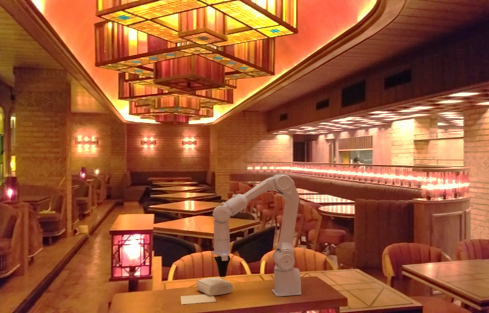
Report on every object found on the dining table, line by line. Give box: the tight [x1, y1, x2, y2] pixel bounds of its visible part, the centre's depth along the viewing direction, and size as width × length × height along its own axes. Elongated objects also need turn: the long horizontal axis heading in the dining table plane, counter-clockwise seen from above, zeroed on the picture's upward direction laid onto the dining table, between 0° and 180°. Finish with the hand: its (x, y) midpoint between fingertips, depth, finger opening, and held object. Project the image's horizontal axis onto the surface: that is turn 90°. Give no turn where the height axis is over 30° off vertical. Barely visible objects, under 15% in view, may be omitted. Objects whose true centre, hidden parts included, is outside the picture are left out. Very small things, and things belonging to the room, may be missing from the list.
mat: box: [179, 293, 217, 306], centre depth 148 cm, size 12×9×1 cm
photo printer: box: [196, 277, 234, 296], centre depth 157 cm, size 10×4×12 cm
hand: (222, 276), depth 150 cm, fingers closed
